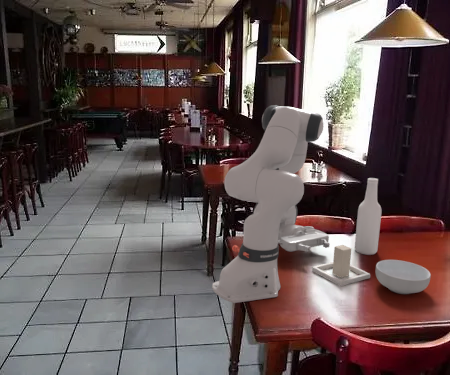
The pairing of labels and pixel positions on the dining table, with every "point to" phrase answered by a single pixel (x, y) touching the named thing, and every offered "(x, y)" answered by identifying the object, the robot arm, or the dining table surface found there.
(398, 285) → the cereal bowl
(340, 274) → the stone block
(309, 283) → the dining table surface
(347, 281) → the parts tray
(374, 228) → the alcohol
